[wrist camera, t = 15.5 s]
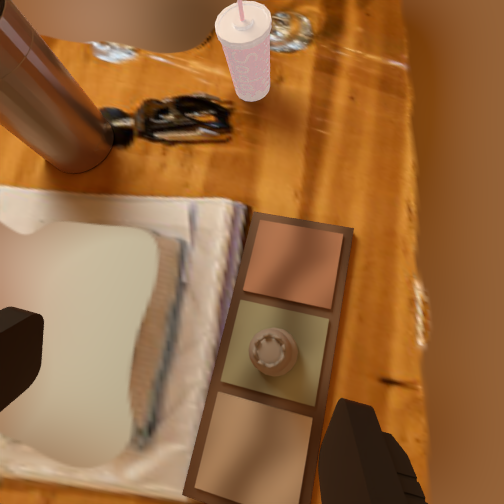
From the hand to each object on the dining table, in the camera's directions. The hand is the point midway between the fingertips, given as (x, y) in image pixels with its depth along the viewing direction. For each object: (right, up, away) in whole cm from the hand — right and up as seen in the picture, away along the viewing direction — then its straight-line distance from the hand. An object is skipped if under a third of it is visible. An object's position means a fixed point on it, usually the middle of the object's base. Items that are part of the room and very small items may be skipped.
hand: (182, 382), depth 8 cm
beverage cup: (+2, +25, +35) cm, 43 cm away
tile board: (+4, -6, +24) cm, 25 cm away
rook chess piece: (+4, -6, +23) cm, 24 cm away
